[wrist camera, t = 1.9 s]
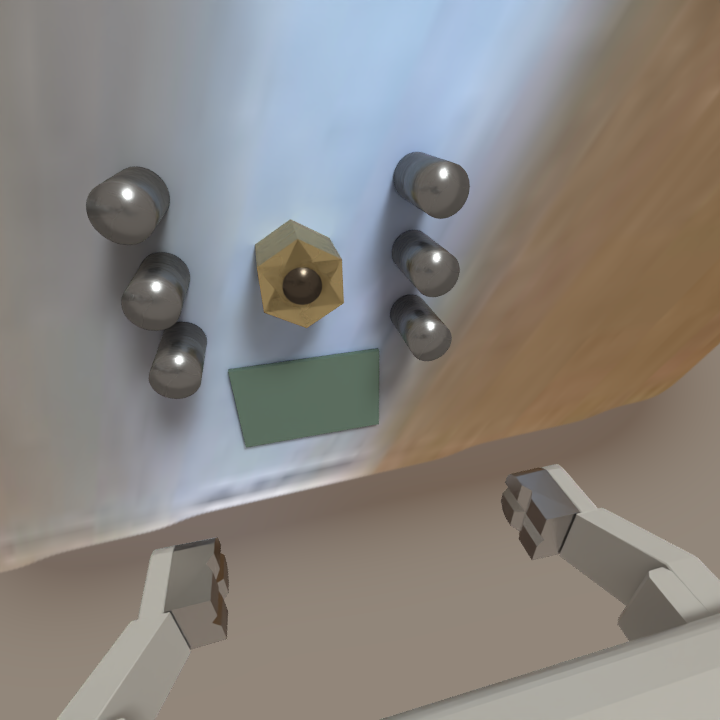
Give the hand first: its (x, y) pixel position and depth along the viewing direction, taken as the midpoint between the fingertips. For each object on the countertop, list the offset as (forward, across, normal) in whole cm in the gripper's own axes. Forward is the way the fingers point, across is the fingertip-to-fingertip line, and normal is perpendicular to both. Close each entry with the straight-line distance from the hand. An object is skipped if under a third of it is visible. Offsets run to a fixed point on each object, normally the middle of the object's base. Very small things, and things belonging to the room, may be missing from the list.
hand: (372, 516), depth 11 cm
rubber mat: (+21, 0, +12) cm, 24 cm away
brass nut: (+21, 0, 0) cm, 21 cm away
